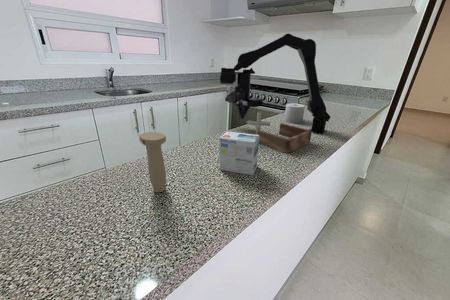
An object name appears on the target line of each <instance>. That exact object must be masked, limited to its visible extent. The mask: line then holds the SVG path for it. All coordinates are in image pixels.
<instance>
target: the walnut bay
mask: <svg viewBox="0 0 450 300" xmlns="http://www.w3.org/2000/svg"><path fill="white" fill-rule="evenodd" d="M312 133H313V132H312V131H311V130H309V129H307V128H303V127H299V126H295V125H290V124H287V123H282V122H281V123H279V131H278V134H279V135H280V136H279V135H276V134H273V133H270V132H267V131H264V130H261V129H260V130H258V133H257V134H256V135H259V144H260V145H263V146H265V147H268V148H271V149H274V150H277V151H278V152H282V153H285V154H289V153H291V152H293V151H295V150H297V149H300V148H301V147H303V146H305V145H308V144H310V143H311V138H312ZM282 136H283V137H282ZM286 137H287V138H286Z"/></svg>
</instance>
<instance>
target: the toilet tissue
mask: <svg viewBox="0 0 450 300" xmlns="http://www.w3.org/2000/svg"><path fill="white" fill-rule="evenodd" d="M305 107H306V105H305V104H301V103H287V104H286V105H285V113H284V121H285V123H288V124H289V123H290V124H301V123H303V120H304V116H305V115H304V114H305V109H306V108H305Z"/></svg>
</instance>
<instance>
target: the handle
mask: <svg viewBox="0 0 450 300" xmlns="http://www.w3.org/2000/svg"><path fill="white" fill-rule="evenodd" d="M138 137H139V141H140V144H142V145H143V146H146V147H145V148H146V155H147V165H148V166H147V167H148V174H149V179H150V180H149V181H150V184H151V186H152V189H153V192H154V193H155V192H157V193H159V192H162V191H163V192H164V190H165V191H166V189H167V186H166V184H167V174H166V166H165V161H164V157H163V151H162V145H163V144H165V142H167V139H166V138H167V137H166V135H165V134H164V133H162V132H157V131H148V132H147V131H146V132H142V133H141V134H138ZM163 192H162V193H163Z"/></svg>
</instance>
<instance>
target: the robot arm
mask: <svg viewBox="0 0 450 300" xmlns="http://www.w3.org/2000/svg"><path fill="white" fill-rule="evenodd" d="M286 46H287V47H289V48H291V49H293V50H296V51H297V53H298V55H299V58H300V59H301V62H302V64H303V66H304V73H305V77H306V83H307V88H308V95H309V98H308V99H309V100H306V101H305V102H306V106H307V107H306V108H307V111H308V112H310V113H311V116H312V117H313V118H312V123H311V128H310V129H308V130H311V131H312V133H315V134H318V135H323V134H325V133H327V132H328V130H327V129H326V125H327V122H330V121H329V120H331V115H330V114H329V113H328V112H327V107H326V104H325V101H324V99H323V97H322V96H321V91H320V85H319V80H318V74H317V67H316V61H315V60H316V55H317V54H316V53H317V44H316V42H315V40H313V39H311V38H307V39H304V38H302V37H298V36H295V35H293V34H291V33H286V34H284V35H283V36H281V37H279V38H277V39H275V40H273V41H271V42H270V43H268V44H265V45H263V46H261V47H259V48H257V49H254V50H250V51H248V52H247V51H246V52H244V53H241V54H239V56H238V58H237V63H236V65H234V67H228V68H227V67H221V69H220V76H219V77H220V78H219V81H220V85H234V83H236V84H237V85H236V86H235V87H234V90H233V91H231V92H230V93H228V94H226V96H225V98H224V99H225V102H228V103H232V104H233V105H234V106H236V107H237V109H238V110H237V111H238V113H239V116H240V119H241V120H244V118H245V117H246V115H247V113H248V111H249V109H250V108H257V107H263V103H264V102H263V100H262V99H261V98H258V97H255V98H252V95H250V93H251V90H252V89H253V87H252V86H251V79H252V78H251V75H252V74H253V75H254V74H256V71H255V70H254V69H253V67H251V68H249V67H250V66H252V65H253V64H254V63H256V62H257V61H258V60H260V59H261V58H264V57H265V56H268V55H269V54H272V53H273V52H275V51H277V50H279V49H282V48H283V47H286ZM247 68H249V69H247ZM241 69H242V71H240V70H241Z"/></svg>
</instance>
